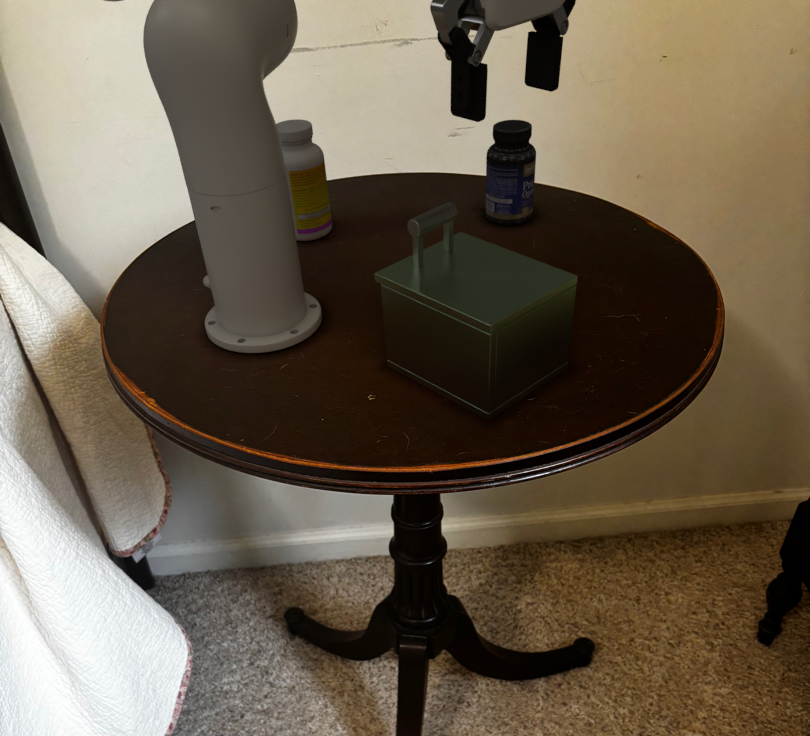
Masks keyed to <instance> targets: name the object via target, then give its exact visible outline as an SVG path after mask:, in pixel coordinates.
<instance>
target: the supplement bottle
mask: <svg viewBox="0 0 810 736" xmlns="http://www.w3.org/2000/svg"><path fill="white" fill-rule="evenodd" d="M276 126H277V129H278V133H279V137H280V141H281V146H282V151H283V157H284V164H285V170H286V175H287V182H288V188H289V195H290V202H291V208H292V215H293V222H294V228H295V235H296V242H308V241H315V240H319V239H320V238H323V237H326V235H328V234H330V232H331V231H332V228H333V218H332V217H333V216H332V210H331V202H330V201H331V200H330V195H329V186H328V185H329V184H328V179H327V178H328V177H327V170H326V162H325V155H324V154H325V153H324V151H323V149H322V148H321V147H320V145H318V144H316V143H315V142H313V136H314V130H313V124H312V121H309V120H307V119H287V120H282V121H279V122H276Z"/></svg>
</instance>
